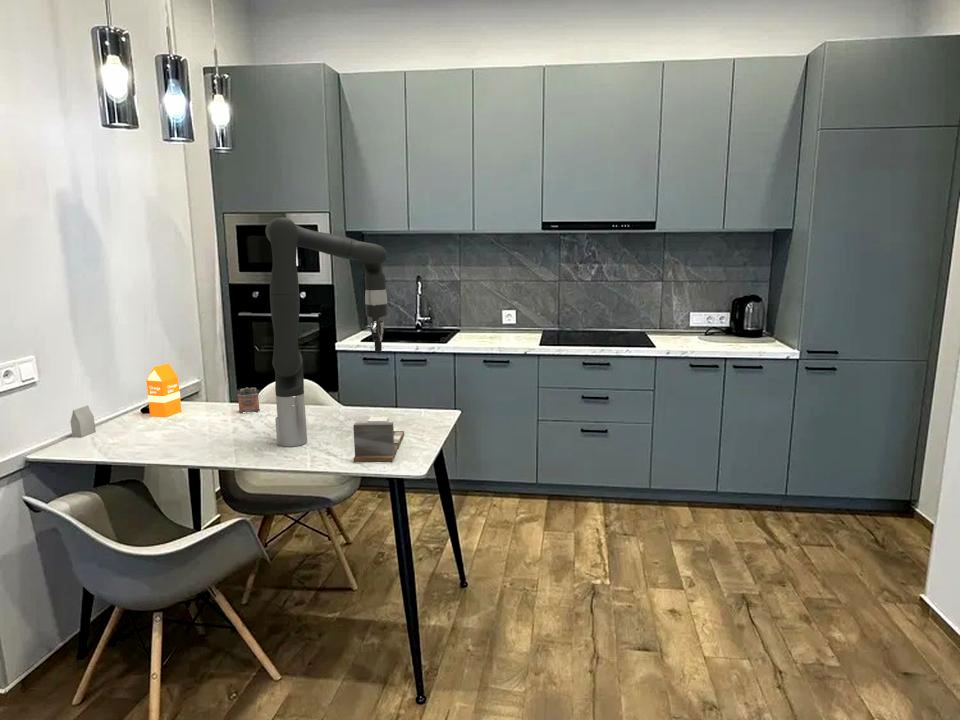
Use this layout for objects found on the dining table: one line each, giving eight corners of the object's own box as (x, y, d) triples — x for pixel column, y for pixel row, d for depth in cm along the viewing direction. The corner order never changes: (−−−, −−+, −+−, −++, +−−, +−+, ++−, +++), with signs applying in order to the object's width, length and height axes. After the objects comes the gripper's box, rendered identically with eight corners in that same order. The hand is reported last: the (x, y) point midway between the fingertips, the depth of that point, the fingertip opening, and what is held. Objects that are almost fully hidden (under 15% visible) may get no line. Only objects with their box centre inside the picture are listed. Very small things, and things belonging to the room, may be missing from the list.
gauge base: (370, 435, 231) (369, 403, 229) (404, 435, 230) (403, 403, 228) (353, 462, 203) (351, 427, 201) (392, 462, 203) (390, 426, 201)
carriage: (371, 442, 217) (370, 416, 215) (398, 442, 217) (397, 416, 215) (367, 449, 210) (366, 423, 208) (395, 449, 210) (394, 422, 208)
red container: (238, 413, 261) (236, 389, 259) (239, 411, 264) (237, 387, 262) (259, 412, 263) (257, 388, 261) (260, 410, 266) (258, 386, 264)
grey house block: (95, 432, 239) (92, 405, 237) (81, 437, 233) (77, 410, 231) (87, 431, 240) (83, 405, 238) (72, 437, 233) (68, 410, 231)
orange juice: (149, 416, 259) (144, 366, 255) (166, 410, 268) (161, 362, 264) (166, 417, 257) (160, 367, 253) (182, 411, 265) (177, 363, 261)
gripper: (369, 300, 234) (371, 348, 238) (361, 304, 221) (364, 355, 225) (390, 300, 234) (391, 348, 237) (383, 304, 221) (385, 354, 224)
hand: (378, 351), depth 231 cm, fingers closed
